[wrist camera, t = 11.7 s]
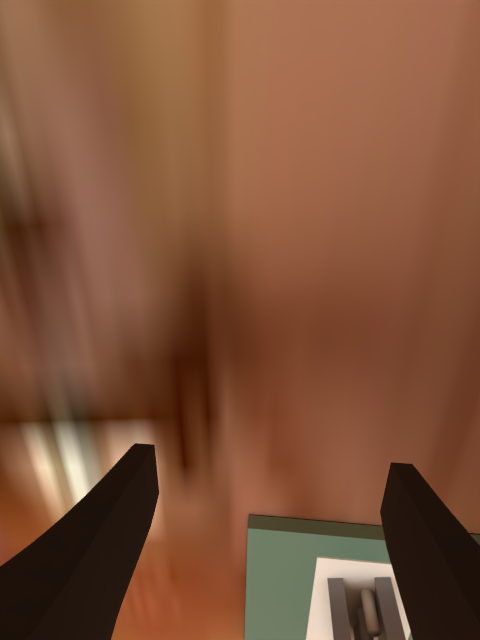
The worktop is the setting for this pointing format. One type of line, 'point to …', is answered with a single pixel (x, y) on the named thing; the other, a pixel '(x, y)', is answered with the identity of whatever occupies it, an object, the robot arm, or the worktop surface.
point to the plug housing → (385, 606)
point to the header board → (314, 578)
